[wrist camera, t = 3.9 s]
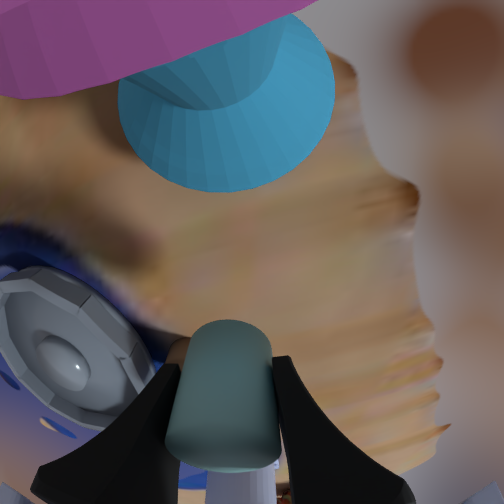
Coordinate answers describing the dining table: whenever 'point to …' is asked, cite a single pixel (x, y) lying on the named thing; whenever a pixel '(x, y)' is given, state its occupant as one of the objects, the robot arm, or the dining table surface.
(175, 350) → the bead walnut
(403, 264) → the dining table surface
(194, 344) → the bead teal
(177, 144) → the perfume bottle
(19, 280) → the tray
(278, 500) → the brown pine cone
